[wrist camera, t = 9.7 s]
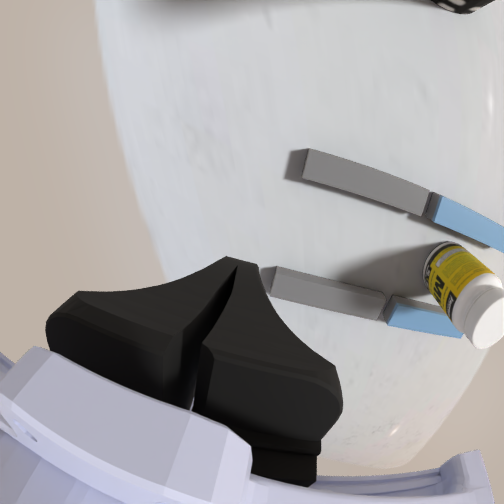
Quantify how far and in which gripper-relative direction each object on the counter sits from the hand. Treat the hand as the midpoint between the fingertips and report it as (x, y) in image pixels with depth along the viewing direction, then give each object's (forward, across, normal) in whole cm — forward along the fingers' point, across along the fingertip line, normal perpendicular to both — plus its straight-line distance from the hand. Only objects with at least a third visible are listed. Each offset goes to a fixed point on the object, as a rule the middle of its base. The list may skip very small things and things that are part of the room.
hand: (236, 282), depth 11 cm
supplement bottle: (+10, -16, 0) cm, 19 cm away
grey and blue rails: (+10, -12, 0) cm, 15 cm away
